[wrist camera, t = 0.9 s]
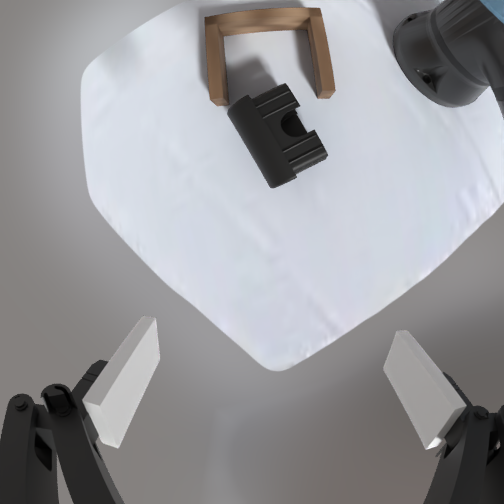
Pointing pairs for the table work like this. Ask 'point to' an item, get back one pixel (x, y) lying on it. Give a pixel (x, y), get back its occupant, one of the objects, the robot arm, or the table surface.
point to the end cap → (276, 135)
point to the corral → (261, 23)
